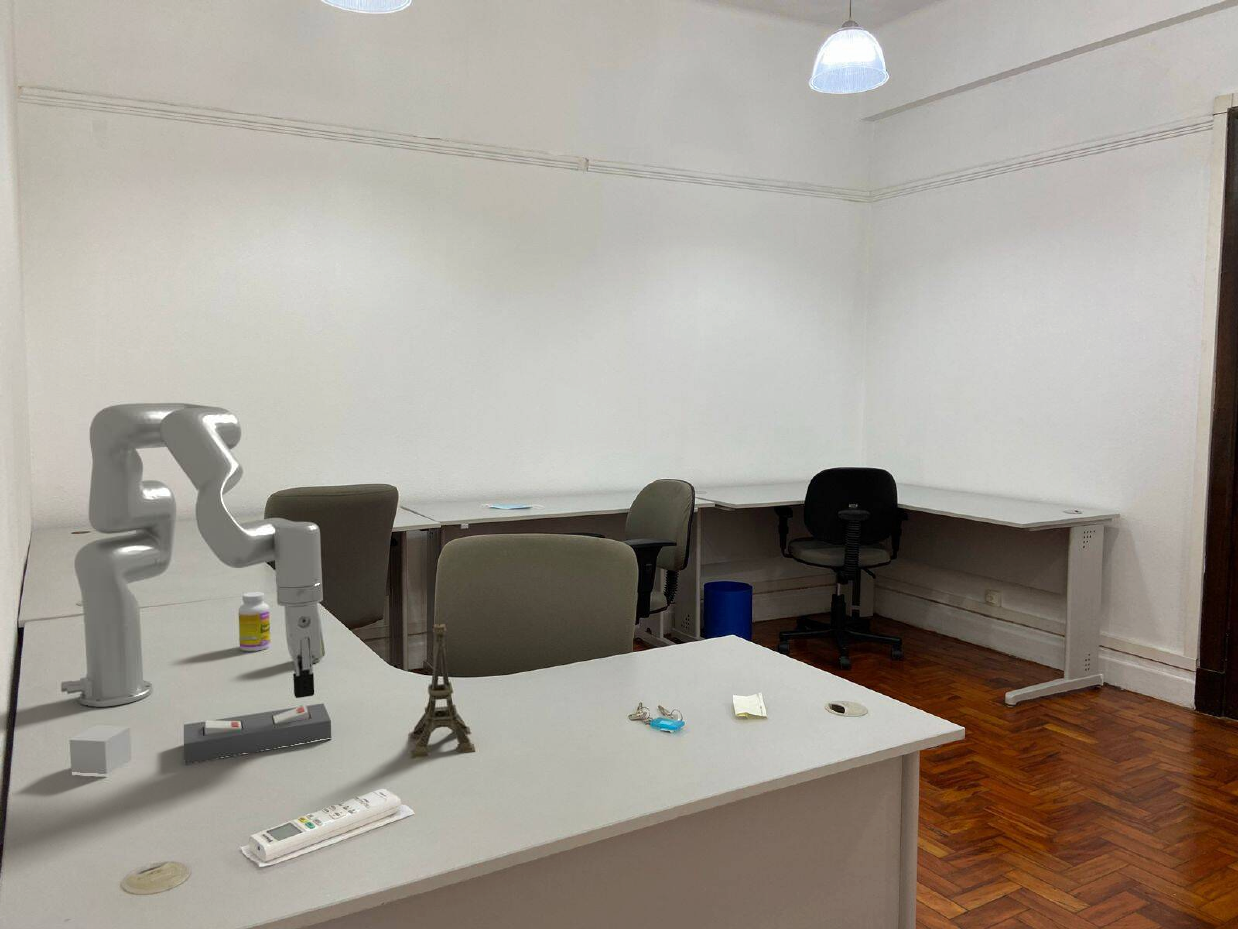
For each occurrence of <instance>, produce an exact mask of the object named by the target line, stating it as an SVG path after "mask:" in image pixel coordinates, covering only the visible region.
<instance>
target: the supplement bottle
mask: <svg viewBox="0 0 1238 929" xmlns="http://www.w3.org/2000/svg"><path fill="white" fill-rule="evenodd" d="M264 600H265V593H264V592H261V591H251V592H246V593H243V594H242V602H243V604H241V605H240V607H238V637H239V640H238V641H239V649H240V650H242V651H243V652H259V650H260V651H264V650H266V649H268V648H269V647H270V646H271V629H270V627H271V623H270V622H271V621H270V606H269V605H268V604H267V603H265V602H264Z"/></svg>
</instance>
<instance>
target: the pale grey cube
mask: <svg viewBox="0 0 1238 929" xmlns="http://www.w3.org/2000/svg"><path fill="white" fill-rule="evenodd" d="M69 751H70V752H69V754H70V768H71V769H70V771H71V773H72V772H78V773H79V772H80V773H98V774H108V773H110V772H112V771H113V770H115V769H117V768H118V767H121V766H122V765H124V764H125V763H128V762H129V761H130V760H131V761H132V746H131V728H130V726H125V725H124V726H123V725H102V724H101V725H100V724H99V725H98V724H95V725H94V726H92V727H90V728H88V729H86V730H85V731H83V732H81V733H80V734H79V733H78V734H77V735H76V736H73V737H72V738H70V739H69ZM128 764H129V763H128Z"/></svg>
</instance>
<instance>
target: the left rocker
mask: <svg viewBox="0 0 1238 929" xmlns="http://www.w3.org/2000/svg"><path fill="white" fill-rule="evenodd" d="M213 720H214V719H212V720H211V719H209V720H207V719H204V722H205V725H204V732H205V735H210V734H217V733H223V732H229V731H235V730H242V727H241V721H213Z"/></svg>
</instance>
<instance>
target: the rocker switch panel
mask: <svg viewBox="0 0 1238 929" xmlns="http://www.w3.org/2000/svg"><path fill="white" fill-rule="evenodd" d="M301 706H302V705H300V706H298V707H301ZM298 707H296V706H295V707H290V708H283V709H277V710H271V711H265V712H264V711H263V712H257V713H251V714H245V715H238V716H230V717H225V718H219V719H218V718H217V719H212V720H213V721H241V727H242V730H235V731H229V732H223V733H217V734H210V735H205V732H204V725H205V721H200V722H194V723H193V722H192V723H186V724H183V754H184V757H183V758H184V765H185V764H187V765H190V764H189V763H192V764H196V763H195V762H198V763H202V762H201V761H204V762H207V761H206V760H210V761H214V760H213V759H216V758H221V757H226V756H233V757H235V756H234V755H239V754H243V753H251V754H254V753H253V752H257V751H261V750H266V749H274V748H278V747H282V746H291V745H295V744H299V743H307V742H311V741H315V740H320V739H327V738H331V739H332V720H331V717H330V715H329V713H328V710H327V708H326V706H325V704H324V703H317V704H309V705H306V707H307V710H308V713H309V717H310V718H309V719H304V720H298V721H292V722H286V723H279V724H275V722H274V718H273V716H276V715H278V714H281V713H284V712H287V711H290V710H293V709H296V708H298ZM274 750H275V749H274ZM257 753H258V752H257ZM239 756H240V755H239ZM216 760H217V759H216Z"/></svg>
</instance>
